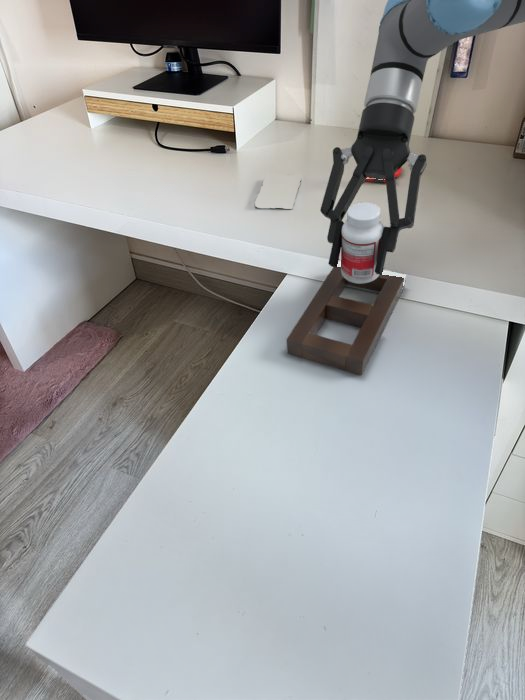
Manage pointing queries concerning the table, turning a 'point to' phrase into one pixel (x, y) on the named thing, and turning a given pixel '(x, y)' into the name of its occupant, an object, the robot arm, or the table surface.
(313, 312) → the rack
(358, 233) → the pill bottle
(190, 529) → the table surface
